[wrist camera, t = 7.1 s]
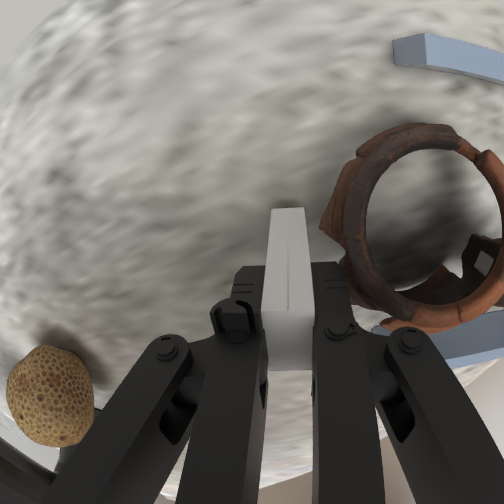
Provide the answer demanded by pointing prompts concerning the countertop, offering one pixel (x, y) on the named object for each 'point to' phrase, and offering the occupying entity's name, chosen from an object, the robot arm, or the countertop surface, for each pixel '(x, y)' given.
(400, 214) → the countertop surface
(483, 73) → the blue-grey u-shaped frame
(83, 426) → the natural sponge
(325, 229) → the brown curved ring piece
